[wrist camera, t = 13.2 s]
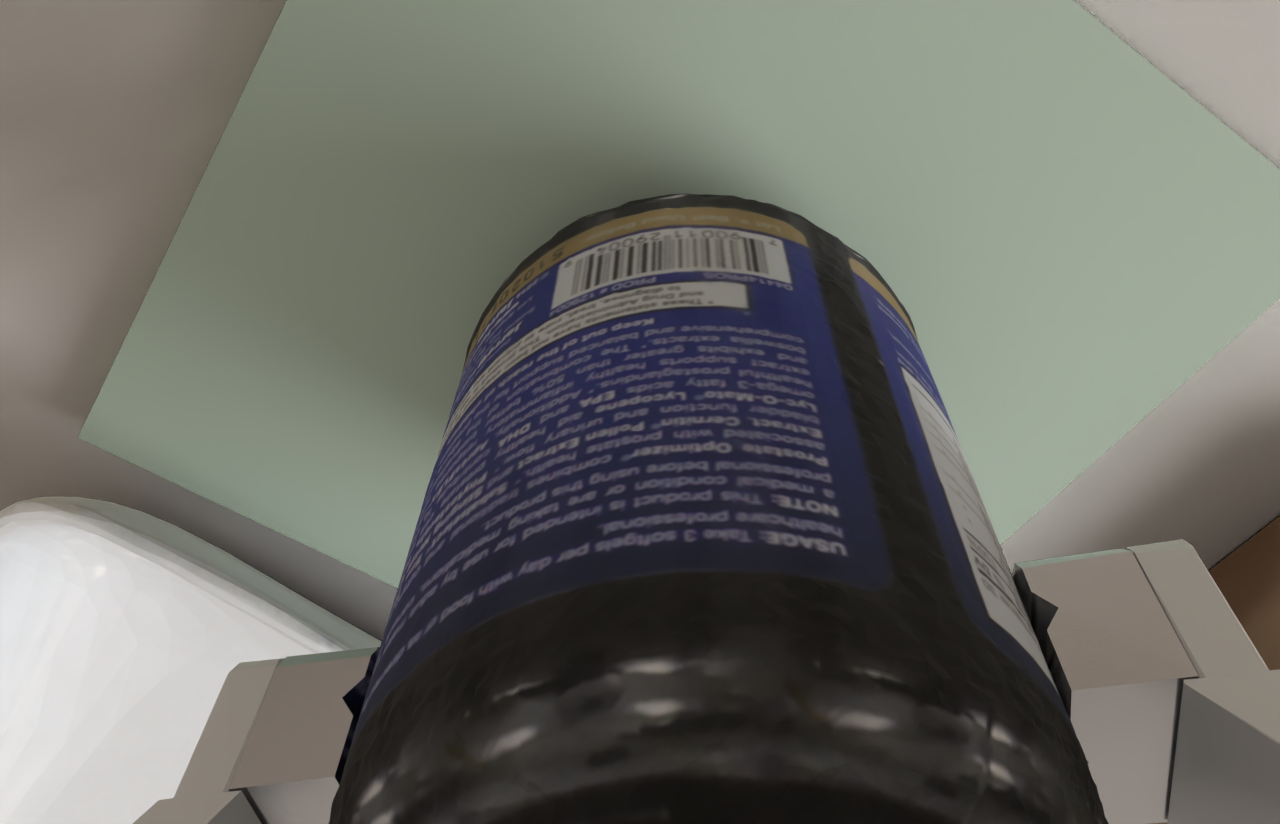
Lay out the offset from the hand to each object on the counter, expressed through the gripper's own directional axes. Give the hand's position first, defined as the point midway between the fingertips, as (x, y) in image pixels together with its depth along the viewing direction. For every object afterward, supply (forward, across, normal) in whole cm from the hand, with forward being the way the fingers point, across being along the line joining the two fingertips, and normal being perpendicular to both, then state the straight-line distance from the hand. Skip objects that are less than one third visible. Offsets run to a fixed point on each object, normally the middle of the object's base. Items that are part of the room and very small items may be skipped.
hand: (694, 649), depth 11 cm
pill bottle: (+5, 0, 0) cm, 5 cm away
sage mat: (+6, 0, 0) cm, 7 cm away
